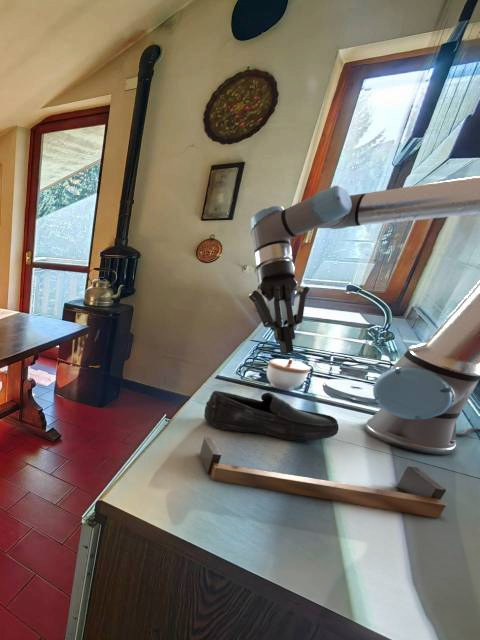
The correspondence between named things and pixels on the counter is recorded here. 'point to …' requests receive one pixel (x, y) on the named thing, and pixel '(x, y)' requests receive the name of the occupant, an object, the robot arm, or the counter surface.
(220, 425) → the loafer
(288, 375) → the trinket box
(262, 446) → the counter surface
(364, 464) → the counter surface
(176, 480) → the counter surface
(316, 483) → the wooden plank on wedges
